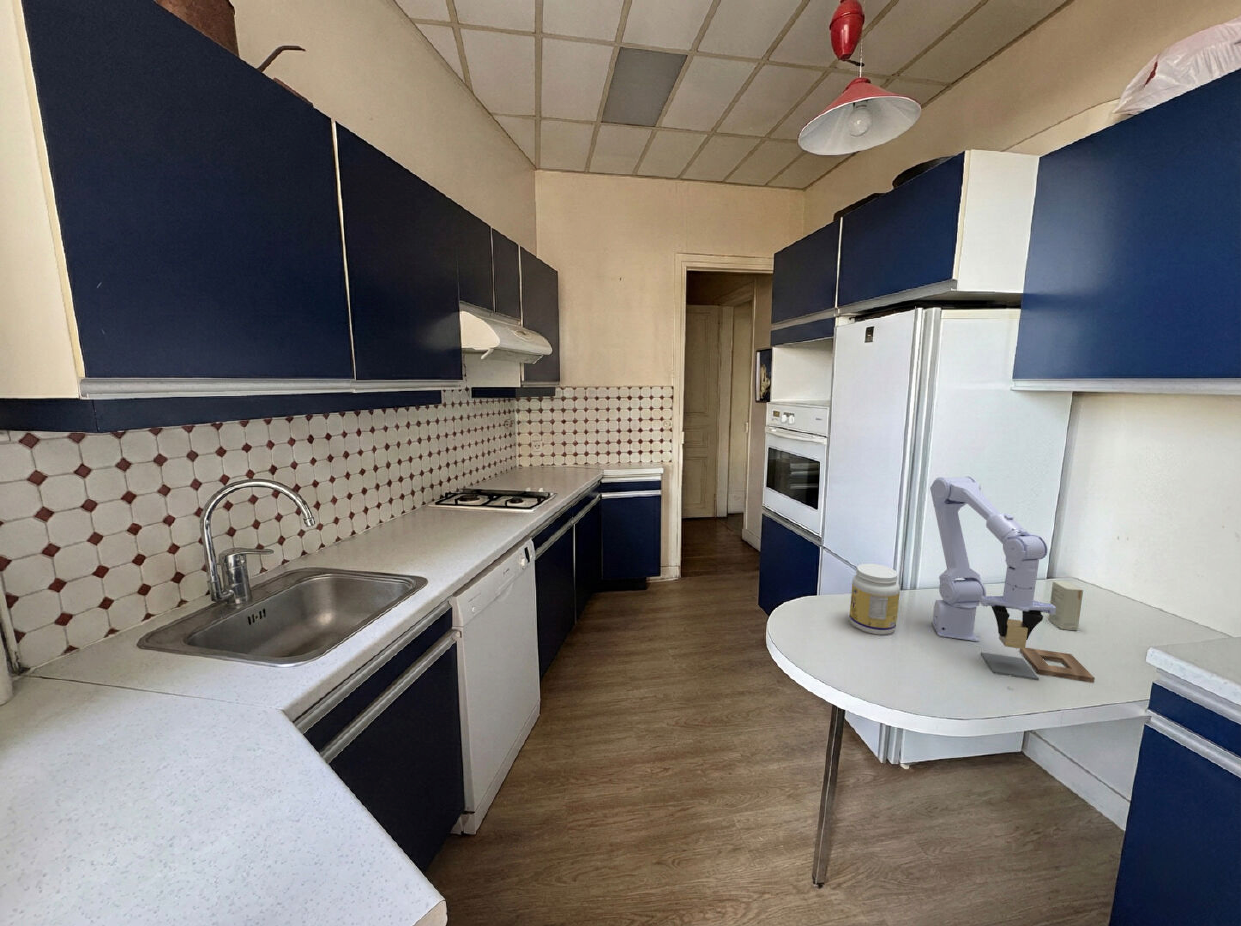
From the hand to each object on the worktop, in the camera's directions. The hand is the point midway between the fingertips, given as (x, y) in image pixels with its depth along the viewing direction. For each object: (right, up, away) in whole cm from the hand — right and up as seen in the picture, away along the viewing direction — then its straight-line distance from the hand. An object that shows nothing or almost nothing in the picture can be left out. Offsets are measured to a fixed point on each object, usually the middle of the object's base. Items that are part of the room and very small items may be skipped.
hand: (1012, 636), depth 122 cm
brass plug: (0, -2, 0) cm, 2 cm away
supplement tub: (-23, -5, +22) cm, 32 cm away
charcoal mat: (0, -8, +1) cm, 8 cm away
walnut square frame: (+12, -8, +2) cm, 14 cm away
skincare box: (+32, -5, +22) cm, 39 cm away
